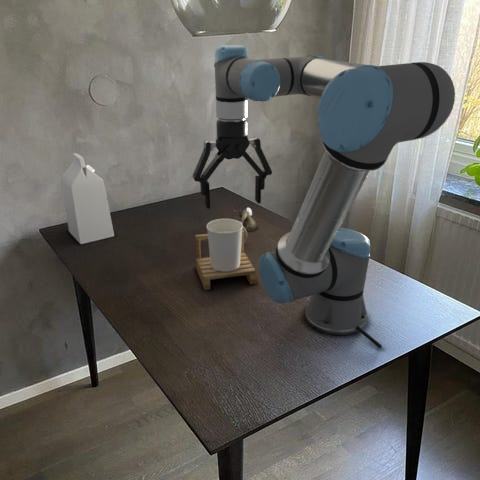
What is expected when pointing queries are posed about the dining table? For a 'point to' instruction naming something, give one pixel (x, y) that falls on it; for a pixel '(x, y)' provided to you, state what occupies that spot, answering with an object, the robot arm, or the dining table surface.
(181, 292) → the dining table surface
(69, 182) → the milk
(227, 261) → the candle holder
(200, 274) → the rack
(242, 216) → the eagle figurine
